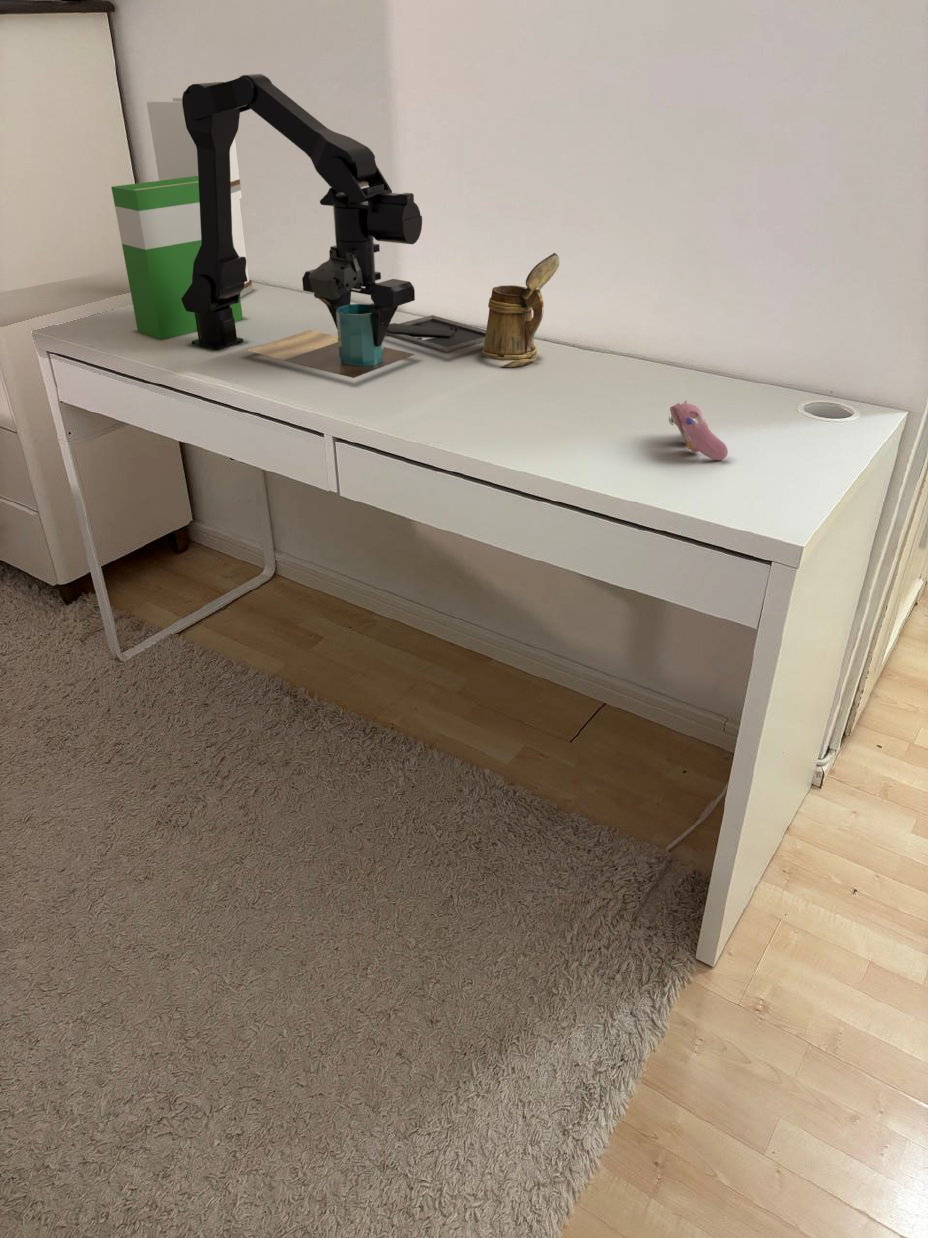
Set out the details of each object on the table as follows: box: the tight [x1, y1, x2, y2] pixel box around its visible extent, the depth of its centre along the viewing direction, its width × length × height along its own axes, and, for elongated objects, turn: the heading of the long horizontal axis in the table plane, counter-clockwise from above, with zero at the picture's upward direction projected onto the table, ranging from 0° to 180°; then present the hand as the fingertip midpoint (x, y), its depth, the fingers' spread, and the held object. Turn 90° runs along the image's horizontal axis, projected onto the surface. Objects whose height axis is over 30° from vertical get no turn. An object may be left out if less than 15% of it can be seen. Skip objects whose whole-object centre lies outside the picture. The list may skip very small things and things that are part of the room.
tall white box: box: [146, 97, 254, 298], centre depth 184 cm, size 11×11×35 cm
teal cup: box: [336, 303, 385, 366], centre depth 150 cm, size 7×7×8 cm
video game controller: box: [668, 400, 729, 461], centre depth 123 cm, size 10×5×7 cm, turn 5°
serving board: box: [245, 329, 416, 379], centre depth 156 cm, size 24×15×1 cm, turn 53°
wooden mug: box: [481, 252, 560, 368], centre depth 150 cm, size 9×14×18 cm, turn 44°
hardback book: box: [111, 176, 244, 340], centre depth 168 cm, size 18×7×24 cm, turn 138°
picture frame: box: [385, 314, 486, 354], centre depth 165 cm, size 13×2×18 cm
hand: (360, 342), depth 151 cm, fingers closed on teal cup, 7 cm apart
